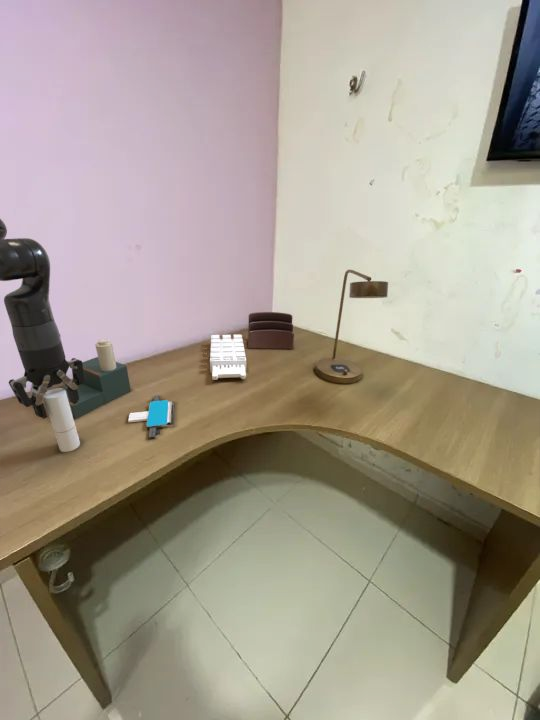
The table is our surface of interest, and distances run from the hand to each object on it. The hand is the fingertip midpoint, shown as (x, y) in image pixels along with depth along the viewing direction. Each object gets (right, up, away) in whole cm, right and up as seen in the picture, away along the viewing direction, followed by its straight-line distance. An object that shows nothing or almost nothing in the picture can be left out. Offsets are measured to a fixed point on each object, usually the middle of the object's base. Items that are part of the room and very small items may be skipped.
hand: (59, 409), depth 71 cm
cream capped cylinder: (0, +9, +23) cm, 24 cm away
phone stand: (+15, -5, +17) cm, 23 cm away
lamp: (+75, +4, +42) cm, 86 cm away
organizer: (+32, +10, +51) cm, 61 cm away
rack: (-6, 0, +24) cm, 25 cm away
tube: (0, -10, +5) cm, 11 cm away
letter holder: (+49, +18, +69) cm, 86 cm away
